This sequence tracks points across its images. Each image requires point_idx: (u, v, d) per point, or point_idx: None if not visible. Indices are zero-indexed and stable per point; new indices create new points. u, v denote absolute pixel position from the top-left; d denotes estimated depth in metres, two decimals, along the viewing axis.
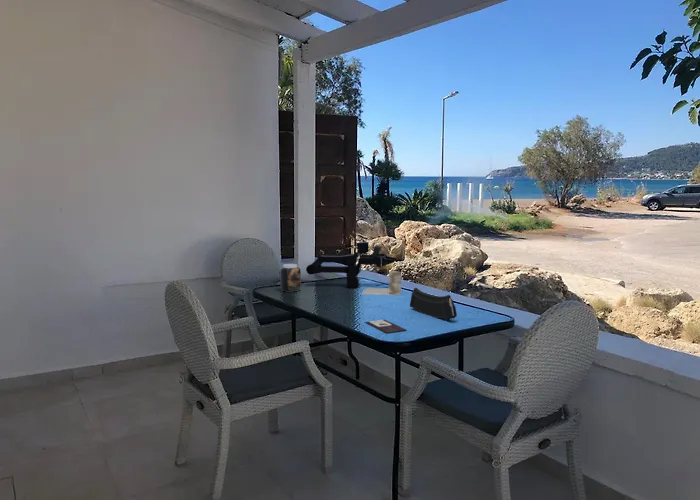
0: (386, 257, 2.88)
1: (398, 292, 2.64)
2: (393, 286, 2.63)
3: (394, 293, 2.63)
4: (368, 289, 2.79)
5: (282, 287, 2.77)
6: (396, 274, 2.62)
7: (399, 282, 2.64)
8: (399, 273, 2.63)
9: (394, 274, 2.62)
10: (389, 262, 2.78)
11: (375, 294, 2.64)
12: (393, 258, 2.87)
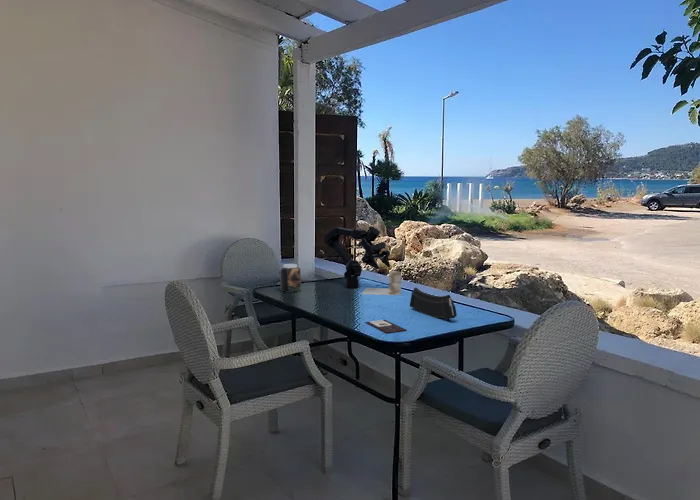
0: (385, 258, 2.76)
1: (398, 292, 2.64)
2: (393, 286, 2.63)
3: (394, 293, 2.63)
4: (368, 289, 2.79)
5: (282, 287, 2.77)
6: (396, 274, 2.62)
7: (399, 282, 2.64)
8: (399, 273, 2.63)
9: (394, 274, 2.62)
10: (373, 265, 2.68)
11: (375, 294, 2.64)
12: (388, 264, 2.74)
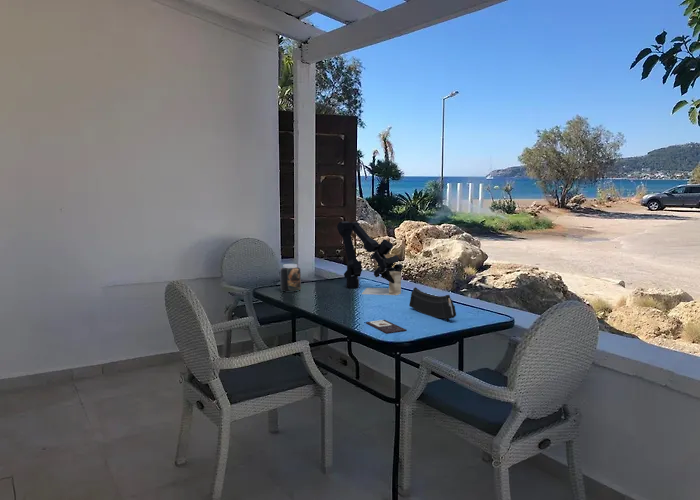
0: None
1: (398, 292, 2.64)
2: (393, 286, 2.63)
3: (394, 293, 2.63)
4: (368, 289, 2.79)
5: (282, 287, 2.77)
6: (396, 274, 2.62)
7: (399, 282, 2.64)
8: (399, 273, 2.63)
9: (394, 274, 2.62)
10: (389, 279, 2.63)
11: (375, 294, 2.64)
12: None
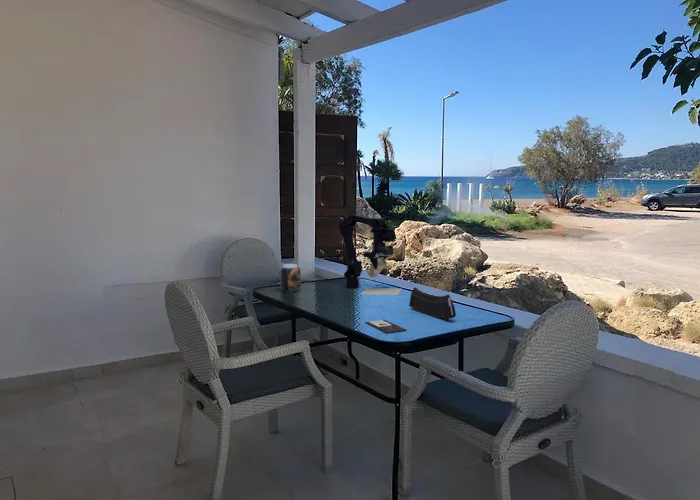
0: None
1: (374, 276, 2.77)
2: (373, 271, 2.74)
3: (370, 276, 2.75)
4: (368, 289, 2.79)
5: (282, 287, 2.77)
6: (382, 265, 2.70)
7: (380, 269, 2.74)
8: (385, 264, 2.71)
9: (380, 264, 2.69)
10: (373, 264, 2.72)
11: (375, 294, 2.64)
12: None
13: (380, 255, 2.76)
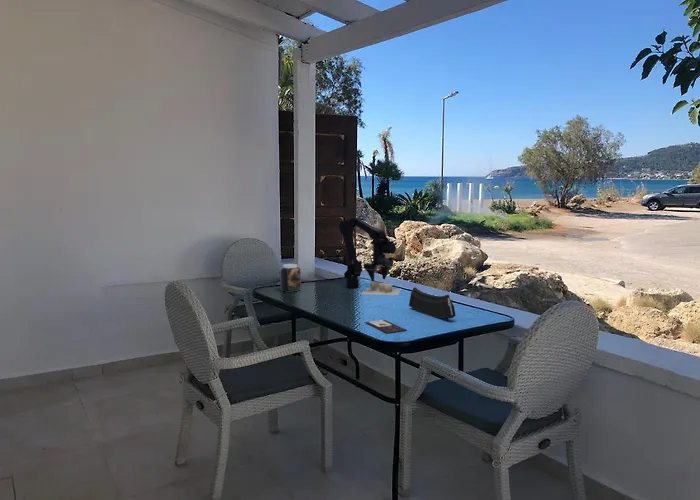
0: (385, 269, 2.77)
1: None
2: (376, 289, 2.73)
3: (371, 289, 2.76)
4: (368, 289, 2.79)
5: (282, 287, 2.77)
6: None
7: None
8: None
9: (385, 291, 2.68)
10: (370, 276, 2.71)
11: (375, 294, 2.64)
12: (384, 276, 2.77)
13: (383, 266, 2.79)
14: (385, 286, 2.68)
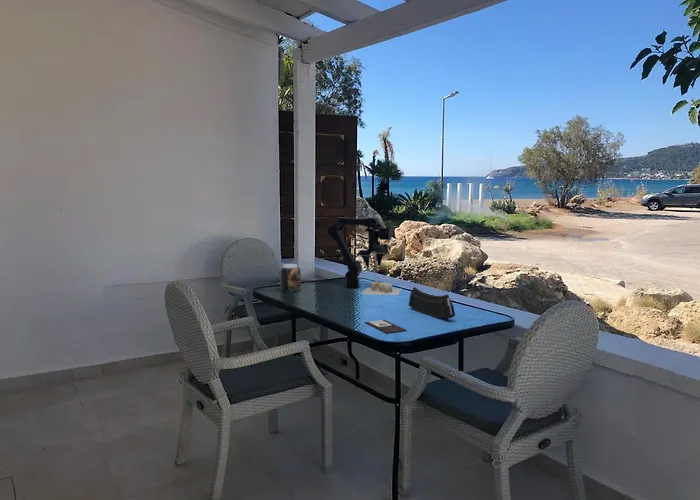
0: (380, 255, 2.85)
1: None
2: (376, 289, 2.73)
3: (371, 289, 2.76)
4: (368, 289, 2.79)
5: (282, 287, 2.77)
6: None
7: None
8: None
9: (385, 291, 2.68)
10: (365, 262, 2.79)
11: (375, 294, 2.64)
12: (379, 263, 2.85)
13: (378, 253, 2.86)
14: (385, 286, 2.68)
